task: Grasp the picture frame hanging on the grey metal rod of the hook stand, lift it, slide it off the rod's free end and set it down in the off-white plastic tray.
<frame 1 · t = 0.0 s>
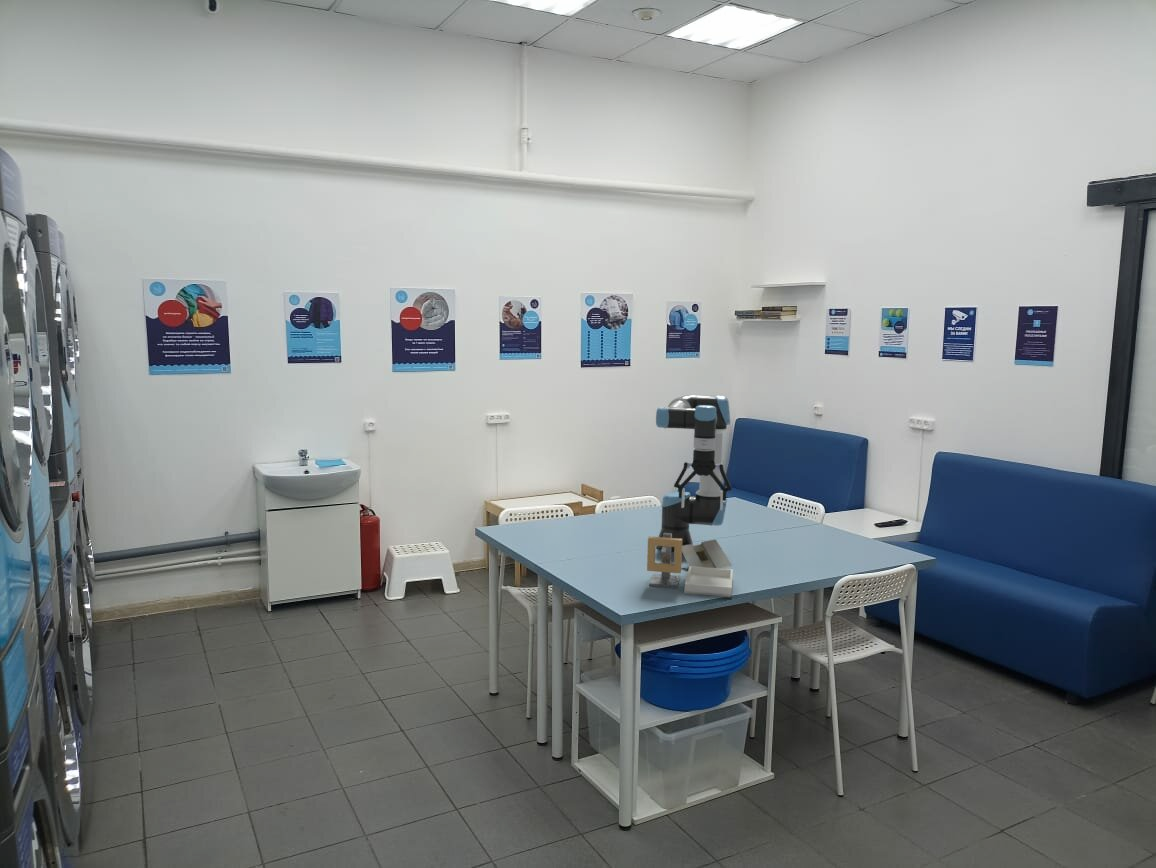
hand: (701, 508, 290), 28 cm above the table, fingers open, 13 cm apart
grey angular piece: (705, 568, 314), on the table
picture frame: (664, 571, 290), point 5 cm above the table, touching hook stand
hook stand: (664, 582, 295), on the table
tray: (709, 585, 292), on the table
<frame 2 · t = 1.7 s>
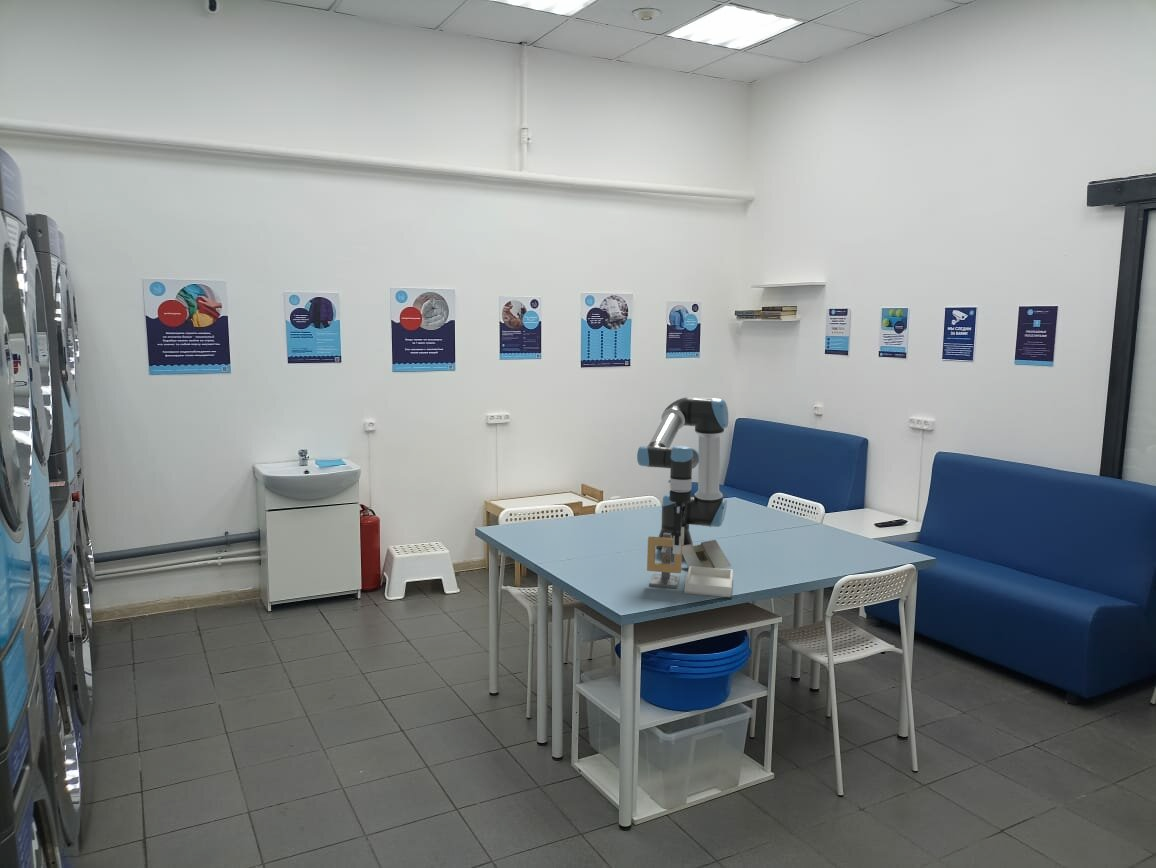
hand: (678, 549, 288), 14 cm above the table, fingers open, 13 cm apart
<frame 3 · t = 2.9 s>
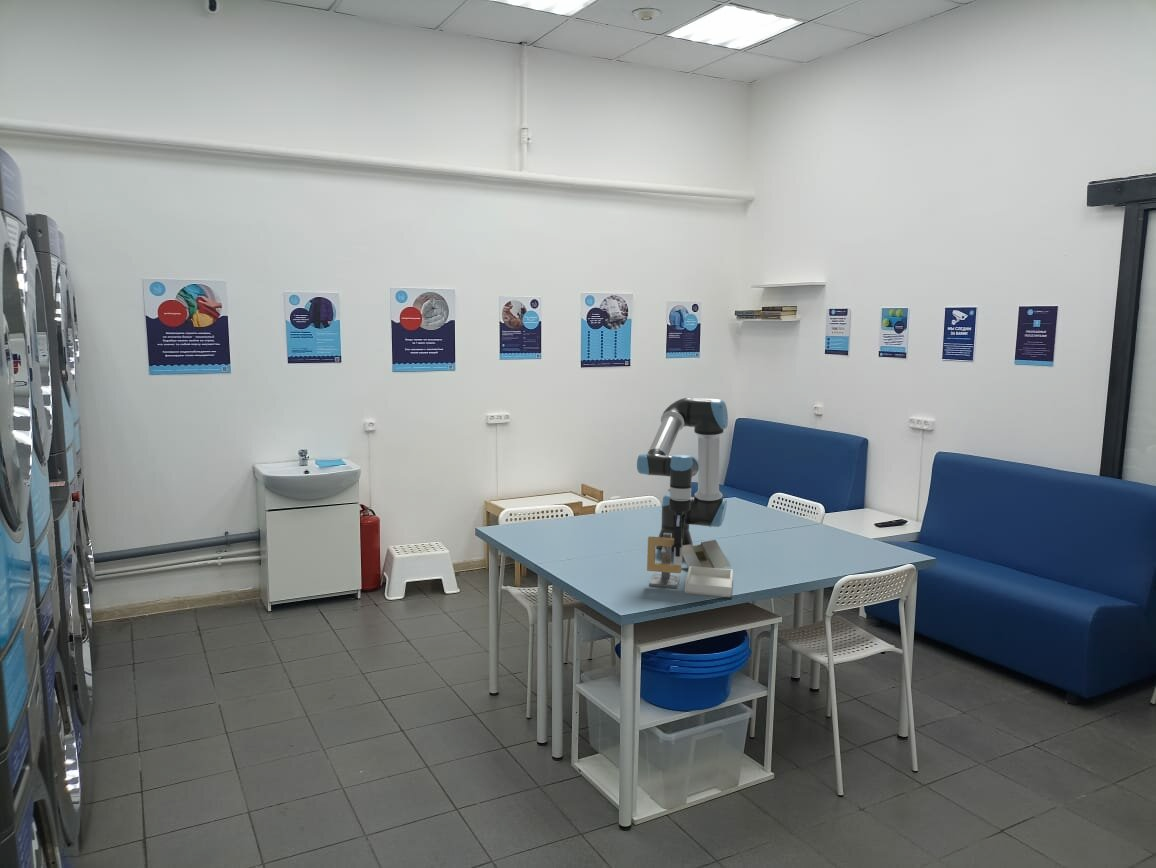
hand: (677, 563, 289), 9 cm above the table, fingers closed on picture frame, 2 cm apart
picture frame: (664, 571, 290), point 5 cm above the table, touching gripper, hook stand
everything else where it was.
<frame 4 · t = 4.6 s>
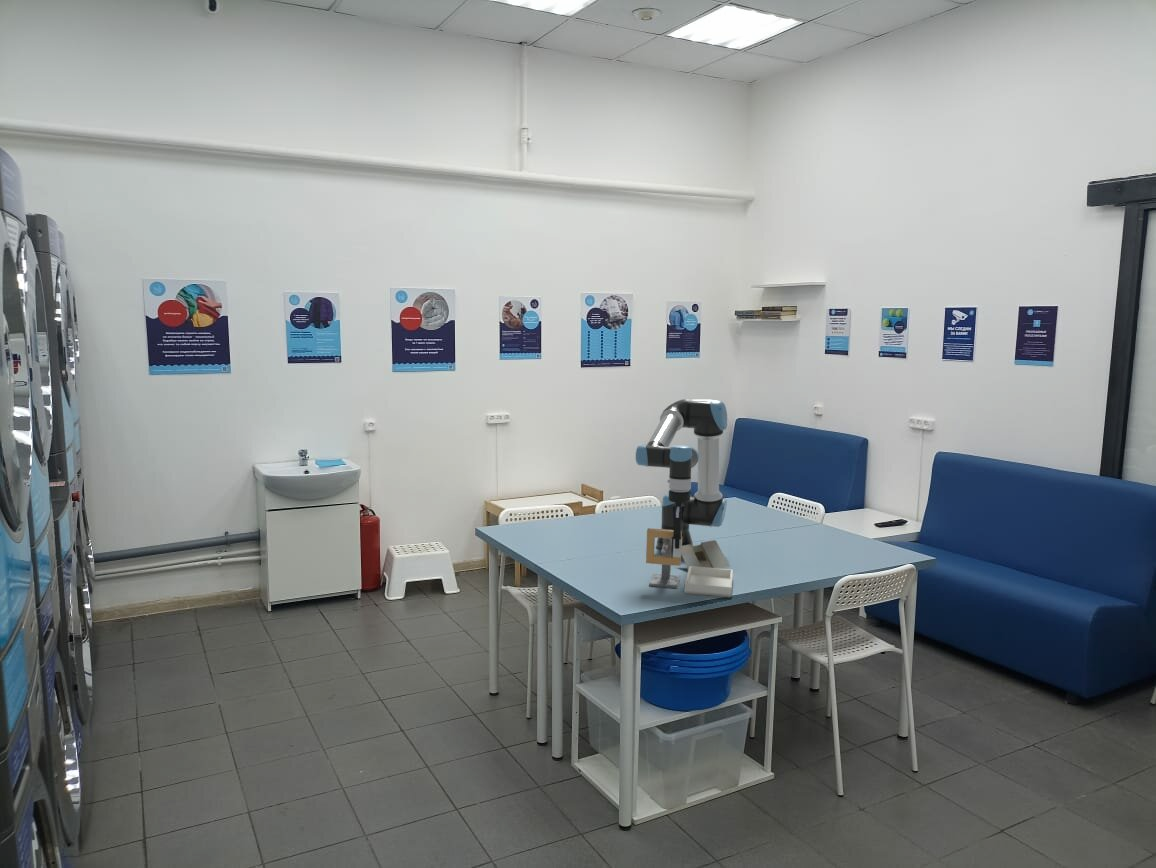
hand: (677, 555, 285), 12 cm above the table, fingers closed on picture frame, 2 cm apart
picture frame: (663, 563, 287), point 9 cm above the table, touching gripper
everything else where it was.
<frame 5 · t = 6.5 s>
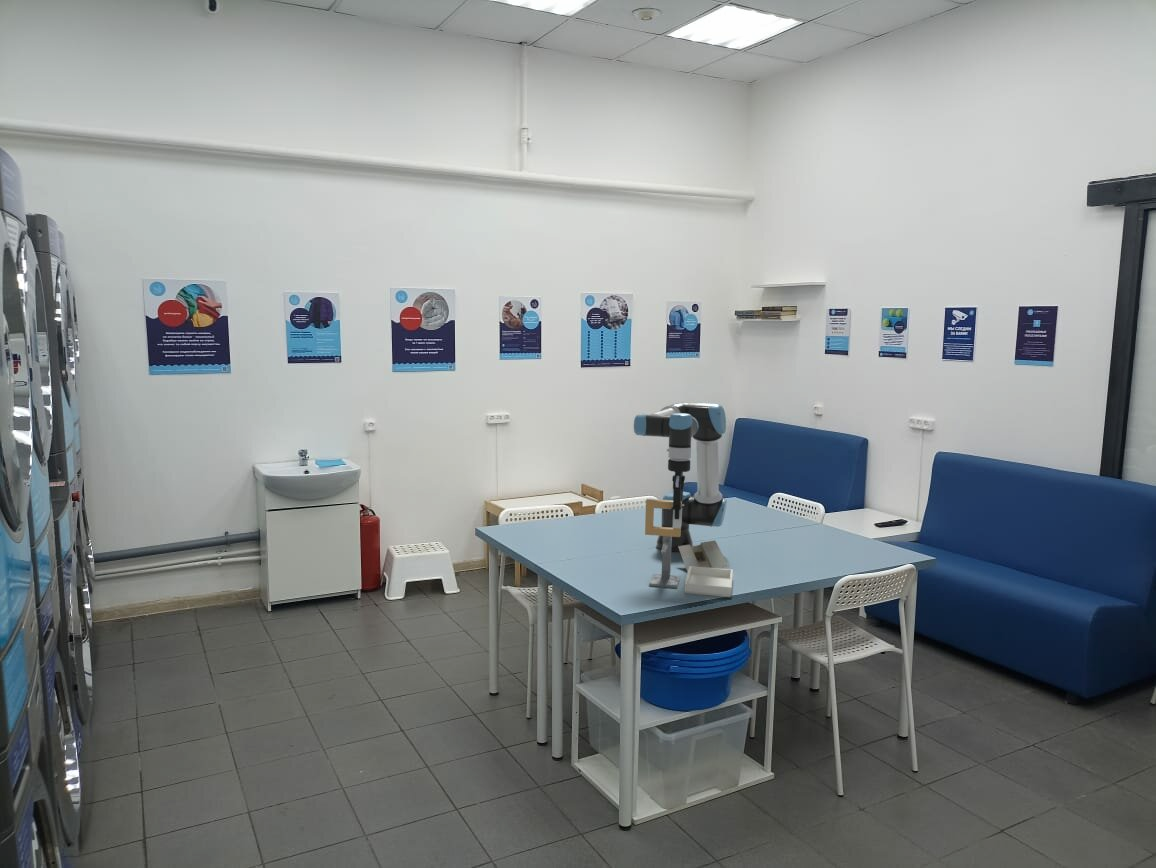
hand: (677, 526, 278), 24 cm above the table, fingers closed on picture frame, 2 cm apart
picture frame: (662, 534, 279), point 21 cm above the table, touching gripper
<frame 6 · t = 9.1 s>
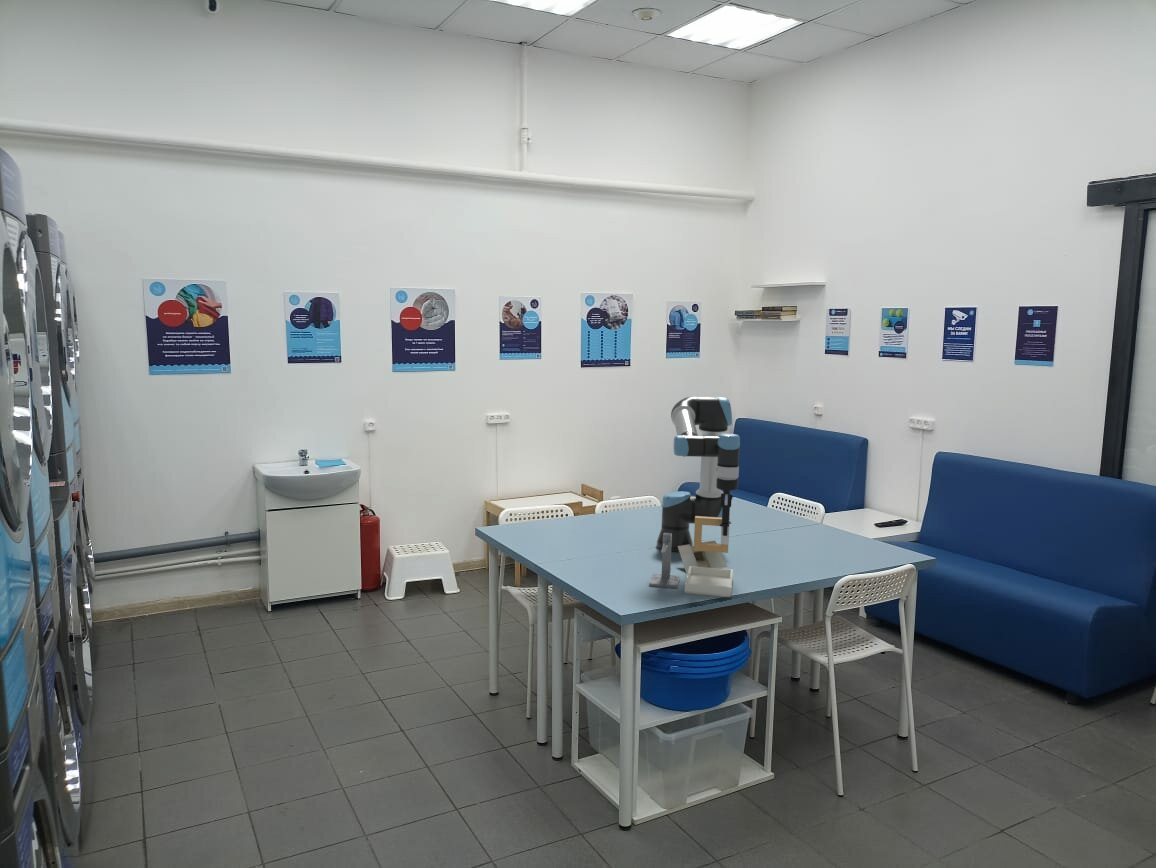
hand: (724, 543, 288), 16 cm above the table, fingers closed on picture frame, 2 cm apart
picture frame: (710, 550, 290), point 13 cm above the table, touching gripper
when the fingers open (4 cm above the table, at t = 11.0 s): picture frame stays where it is, resting on tray.
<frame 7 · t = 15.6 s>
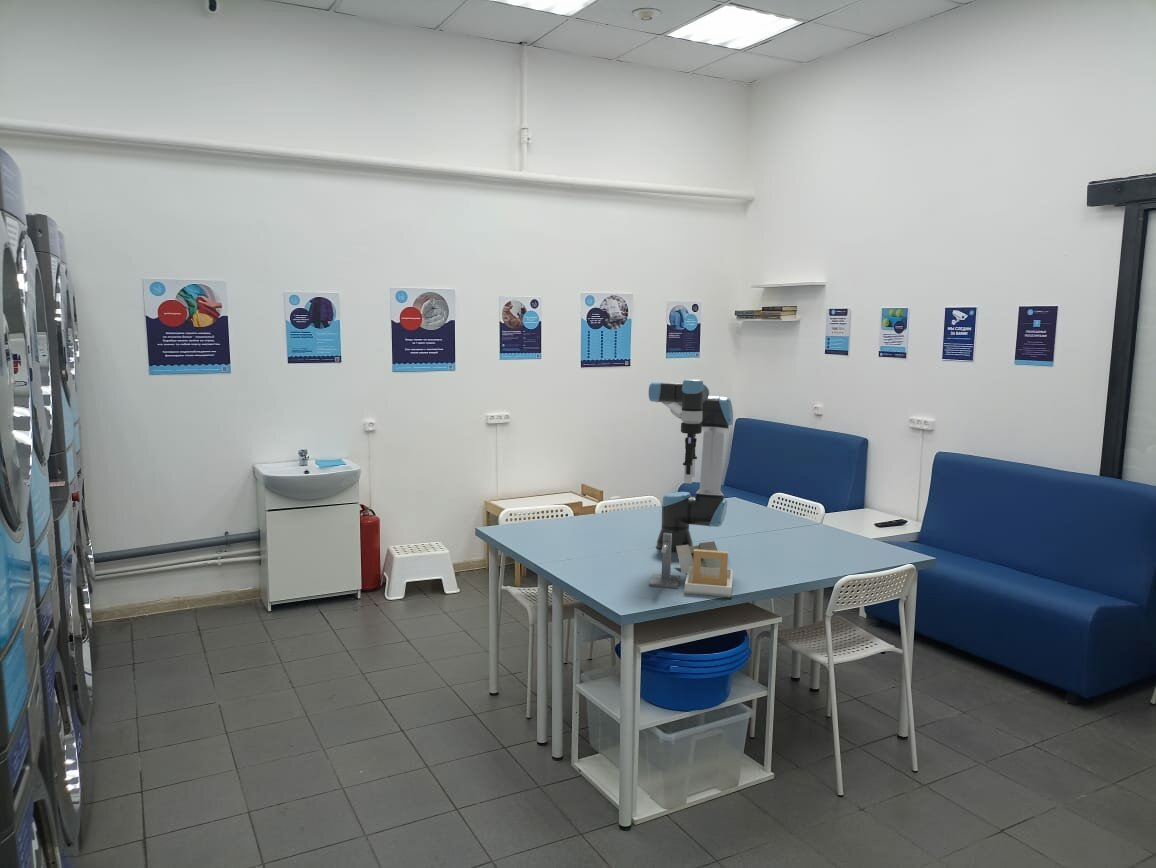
hand: (689, 480, 297), 37 cm above the table, fingers open, 13 cm apart
grey angular piece: (698, 569, 313), on the table
picture frame: (709, 583, 292), point 1 cm above the table, touching tray
at the end: picture frame inside the target area on the tray (0.1 cm from its centre), point 0.8 cm above the tray's base; picture frame touching tray; the gripper is holding nothing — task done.
